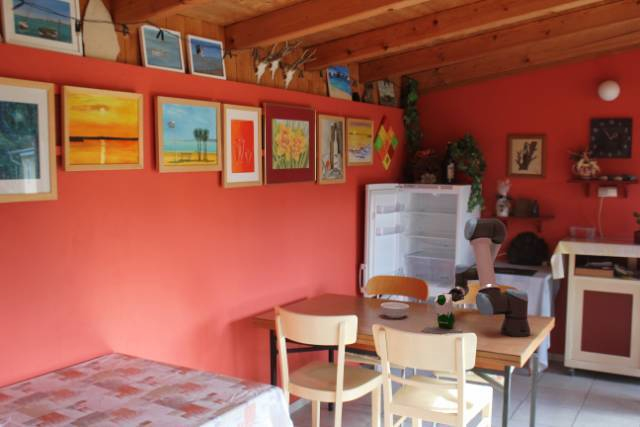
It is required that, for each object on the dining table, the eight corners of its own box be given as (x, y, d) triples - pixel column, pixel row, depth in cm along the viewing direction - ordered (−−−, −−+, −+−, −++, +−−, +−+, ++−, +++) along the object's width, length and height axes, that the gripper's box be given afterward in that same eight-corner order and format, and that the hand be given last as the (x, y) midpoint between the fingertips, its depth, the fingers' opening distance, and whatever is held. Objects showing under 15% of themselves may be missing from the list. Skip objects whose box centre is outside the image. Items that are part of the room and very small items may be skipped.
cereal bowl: (405, 321, 363) (406, 309, 362) (377, 319, 368) (377, 307, 368) (411, 314, 379) (411, 303, 378) (384, 312, 384) (384, 301, 384)
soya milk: (436, 328, 349) (432, 298, 340) (442, 318, 356) (437, 288, 347) (452, 330, 344) (447, 300, 336) (457, 320, 351) (453, 290, 343)
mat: (462, 331, 341) (462, 331, 341) (457, 336, 332) (457, 335, 332) (426, 327, 350) (426, 326, 350) (420, 331, 341) (420, 331, 341)
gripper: (467, 301, 368) (456, 309, 347) (445, 299, 374) (433, 307, 353) (467, 288, 367) (457, 296, 347) (445, 286, 373) (434, 294, 353)
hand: (445, 301), depth 350 cm, fingers closed
